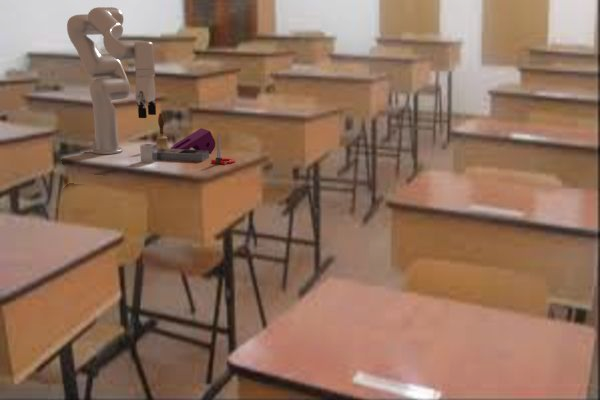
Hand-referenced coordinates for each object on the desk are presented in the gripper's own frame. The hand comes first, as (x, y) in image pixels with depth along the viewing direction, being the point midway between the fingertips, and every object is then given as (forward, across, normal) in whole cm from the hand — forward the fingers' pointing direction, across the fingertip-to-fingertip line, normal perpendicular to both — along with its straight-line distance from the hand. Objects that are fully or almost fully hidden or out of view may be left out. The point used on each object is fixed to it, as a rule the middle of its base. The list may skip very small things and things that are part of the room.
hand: (147, 116), depth 301 cm
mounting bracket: (+19, -23, +10) cm, 31 cm away
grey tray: (+19, -9, +10) cm, 23 cm away
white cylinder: (+19, 0, 0) cm, 19 cm away
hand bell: (+19, -27, -5) cm, 33 cm away
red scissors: (+19, -6, +30) cm, 36 cm away
